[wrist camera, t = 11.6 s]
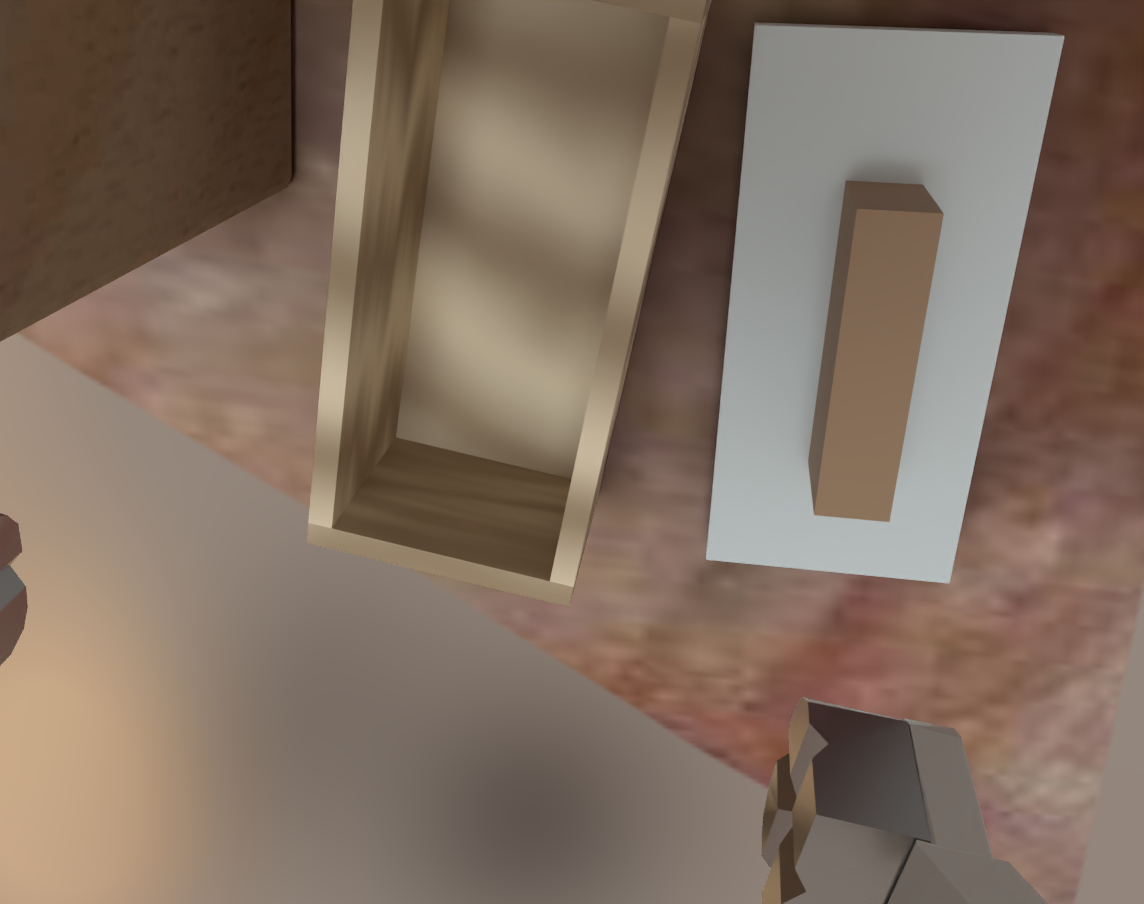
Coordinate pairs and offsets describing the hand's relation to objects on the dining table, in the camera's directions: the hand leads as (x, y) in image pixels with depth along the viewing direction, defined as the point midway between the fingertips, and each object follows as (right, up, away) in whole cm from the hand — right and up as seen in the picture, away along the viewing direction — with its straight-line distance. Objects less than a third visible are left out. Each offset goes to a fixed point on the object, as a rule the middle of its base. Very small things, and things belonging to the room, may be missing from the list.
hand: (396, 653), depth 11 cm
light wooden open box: (0, +10, +27) cm, 29 cm away
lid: (+12, +7, +26) cm, 29 cm away
